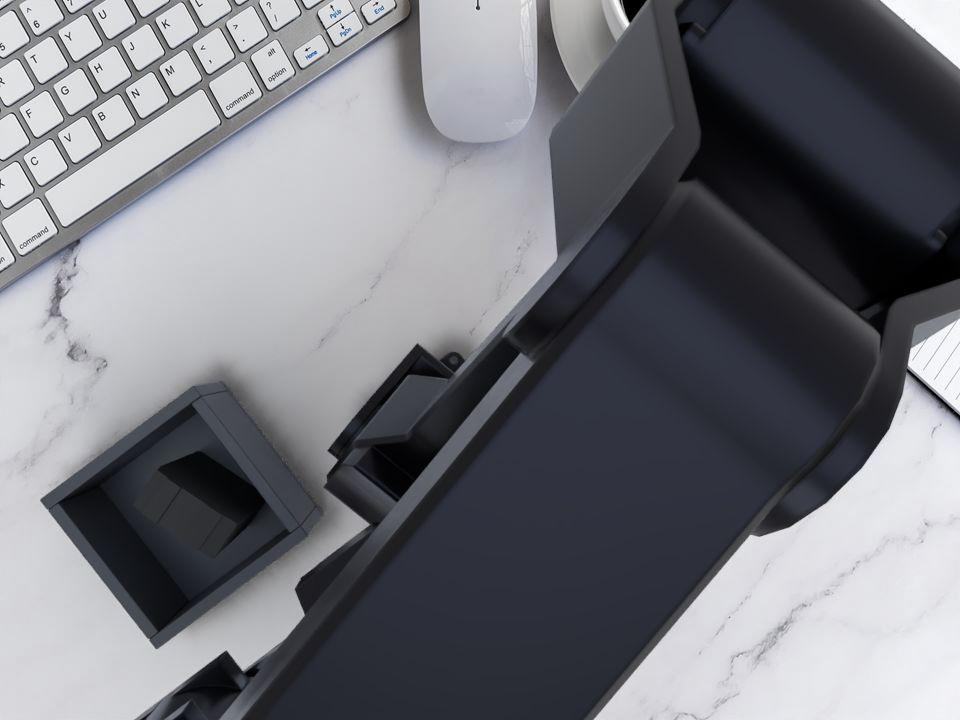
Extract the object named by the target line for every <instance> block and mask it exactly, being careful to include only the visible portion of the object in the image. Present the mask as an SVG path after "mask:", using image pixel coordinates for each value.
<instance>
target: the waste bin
mask: <svg viewBox="0 0 960 720" xmlns="http://www.w3.org/2000/svg"><path fill="white" fill-rule="evenodd" d="M196 451H201V452H203V453H204V454H206V455H207V456H209V457H210V458H212V459H213V460H215V461H216V462H218V463H219V464H221V465H222V466H224V467H225V468H227V469H228V470H230V471H231V472H233V473H234V474H236V475H237V476H239V477H240V478H242V479H243V480H245V481H246V482H248V483H249V484H251V485H252V486H254V487H255V488H256V489H257V491H258V492H259V493H260V494H261V496H262V497H263V498H264V500H265V502H264V503H263V505H262V506H261V508H260V509H259V511H258V512H257V513H256V515H255V516H254V518H253V519H252V521H251V522H250V524H249V525H248V526H247V528H246V529H245V530H244V531H243V532H242V533H240V534H239V535H238V536H237V537H236V538H235V539H234V540H233V541H232V542H231V543H230V544H229V545H228V546H226V547H225V548H224V549H223V550H222V551H221V552H220V553H219V554H218V555H217V556H216V557H215V558H214V559H212V558H210V557H209V556H207V555H206V554H204V553H202V552H201V551H197V550H196V549H194V548H193V547H191V546H190V545H188V544H186V543H185V542H183V540H182V539H180V538H179V537H177V536H176V535H174V534H173V533H171V532H170V531H168V530H167V529H165V528H164V527H162V526H161V525H159V524H157V523H155V522H153V521H152V520H151V519H149V518H148V517H146V516H145V515H143V514H142V512H141V511H140V510H138V509H137V508H136V507H134V506H133V503H134V502H135V501H136V499H137V498H138V496H139V495H140V493H141V492H142V490H143V489H144V488H145V486H146V485H147V483H148V482H149V480H150V479H151V478H152V476H153V475H154V473H155V472H156V470H157V469H158V468H159V467H160V466H162V465H165V464H167V463H170V462H172V461H175V460H177V459H179V458H182V457H184V456H187V455H189V454H192V453H194V452H196ZM39 501H40V503H41V504H42V506H43V507H44V508H45V509H46V510H47V511H48V513H49V514H50V516H51V517H52V518H53V520H54V521H55V522H56V524H58V526H59V527H60V529H62V531H63V532H64V533H65V535H66V536H67V537H68V539H69V540H70V542H72V544H73V545H74V546H75V548H76V549H77V550H78V551H79V553H80V554H81V555H82V557H83V558H84V559H85V560H86V562H87V563H88V564H89V566H90V567H91V568H92V569H93V571H94V572H95V574H96V575H98V577H99V578H100V580H101V582H103V583H104V585H105V586H106V587H107V589H108V590H109V591H110V592H111V594H112V595H113V596H114V598H115V599H116V600H117V601H118V603H119V604H120V605H121V607H122V608H123V609H124V610H125V612H126V614H128V616H129V617H130V618H131V620H132V621H133V622H134V624H136V626H137V627H138V628H139V630H140V631H141V632H142V634H143V635H144V636H145V637H146V638H147V640H148V641H149V642H150V644H151V645H152V646H153V647H154V649H155V650H159V649H160V648H161V647H163V646H164V645H165V644H167V643H169V641H171V640H172V639H173V638H174V637H176V636H177V635H178V634H180V633H182V632H183V631H184V630H186V628H188V627H189V626H191V625H192V624H193V623H194V622H196V621H198V620H199V619H200V618H201V617H203V616H204V615H205V614H207V613H208V612H209V611H211V610H212V609H213V608H215V607H216V606H218V605H219V604H220V603H221V602H222V601H224V600H225V599H227V598H229V596H231V595H233V593H235V592H236V591H237V590H239V589H240V588H241V587H242V586H244V585H246V584H247V583H248V582H250V581H251V580H252V579H254V578H255V577H256V576H258V574H260V573H261V572H263V571H264V570H265V569H266V568H267V569H268V567H269V566H271V565H272V564H273V563H275V562H276V561H277V560H279V559H280V558H281V557H282V556H284V555H285V554H287V553H288V552H290V551H291V550H292V549H294V548H295V547H296V546H298V545H299V544H300V543H301V542H303V541H304V540H305V539H306V538H308V537H309V535H311V533H312V532H313V530H314V528H315V527H316V526H317V524H319V521H320V520H321V518H323V516H324V514H325V513H324V512H323V510H322V509H321V507H320V506H319V504H317V502H316V501H315V499H314V498H313V497H312V496H311V494H310V493H309V492H308V491H307V489H306V488H305V487H304V485H303V484H302V483H301V481H300V480H299V479H298V477H297V476H296V475H295V473H294V472H293V471H292V469H291V468H290V467H289V465H288V464H287V463H286V461H284V459H283V458H282V457H281V455H280V454H279V453H278V452H277V450H276V448H275V447H274V446H273V444H272V443H271V442H270V441H269V439H268V437H266V436H265V434H264V433H263V431H262V430H261V429H260V428H259V426H258V425H257V424H256V422H255V421H254V420H253V418H252V417H251V416H250V414H249V412H247V411H246V409H245V408H244V406H243V405H242V404H241V403H240V401H239V400H238V399H237V397H236V396H235V395H234V394H233V392H232V391H231V390H230V388H229V387H228V386H227V384H226V383H225V382H224V381H223V380H220V381H215V382H209V383H203V384H197V385H192V386H191V387H189V388H188V389H186V390H185V391H184V392H183V393H181V394H179V396H177V397H176V398H174V399H173V400H172V401H170V402H169V403H168V404H167V405H165V406H163V408H161V409H159V410H158V411H157V412H156V413H153V415H151V416H150V417H149V418H148V419H146V420H145V421H143V422H142V423H141V424H139V425H138V426H137V427H135V428H134V429H133V430H131V431H130V432H129V433H127V434H126V435H125V436H123V437H122V438H120V439H119V440H118V441H116V443H113V445H111V446H110V447H109V448H107V449H106V450H104V451H103V452H101V453H100V454H99V455H98V456H97V457H95V458H94V459H92V460H91V461H90V462H89V463H87V464H86V465H84V466H83V467H81V468H80V469H78V470H77V471H76V472H75V473H73V474H72V475H71V476H70V477H68V478H67V479H66V480H64V481H63V482H61V483H60V484H58V485H57V486H56V487H54V488H53V489H52V490H51V491H49V492H48V493H46V494H44V495H43V496H42V497H41V498H40V499H39Z"/></svg>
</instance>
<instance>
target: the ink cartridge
mask: <svg viewBox="0 0 960 720" xmlns="http://www.w3.org/2000/svg"><path fill="white" fill-rule="evenodd" d="M264 502H265V500H264V498H263V497H262V496H261V494H260V493H259V492H258V491H257V489H256V488H255V487H254V486H252V485H251V484H249V483H248V482H246V481H245V480H243V479H242V478H240V477H239V476H237V475H236V474H234V473H233V472H231V471H230V470H228V469H227V468H225V467H224V466H222V465H221V464H219V463H218V462H216V461H215V460H213V459H212V458H210V457H209V456H207V455H206V454H204V453H203V452H201V451H196V452H194V453H192V454H189V455H187V456H184V457H182V458H179V459H177V460H175V461H172V462H170V463H167V464H165V465H162V466H160V467H159V468H158V469H157V470H156V472H155V473H154V475H153V476H152V478H151V479H150V480H149V482H148V483H147V485H146V486H145V488H144V489H143V490H142V492H141V493H140V495H139V496H138V498H137V499H136V501H135V502H134V503H133V506H134V507H136V508H137V509H138V510H140V511H141V512H142V514H143V515H145V516H146V517H148V518H149V519H151V520H152V521H153V522H155V523H157V524H159V525H161V526H162V527H164V528H165V529H167V530H168V531H170V532H171V533H173V534H174V535H176V536H177V537H179V538H180V539H182V540H183V542H185V543H186V544H188V545H190V546H191V547H193V548H194V549H196V550H197V551H201V552H202V553H204V554H206V555H207V556H209V557H210V558H212V559H214V558H215V557H216V556H217V555H218V554H219V553H220V552H221V551H222V550H223V549H224V548H225V547H226V546H228V545H229V544H230V543H231V542H232V541H233V540H234V539H235V538H236V537H237V536H238V535H239V534H240V533H242V532H243V531H244V530H245V529H246V528H247V526H248V525H249V524H250V522H251V521H252V519H253V518H254V516H255V515H256V513H257V512H258V511H259V509H260V508H261V506H262V505H263V503H264Z"/></svg>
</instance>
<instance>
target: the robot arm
mask: <svg viewBox="0 0 960 720" xmlns="http://www.w3.org/2000/svg"><path fill="white" fill-rule="evenodd" d="M550 132H551V133H550V136H549V139H548V142H549V143H548V145H549V158H550V173H551V187H552V201H553V202H552V203H553V214H554V229H555V242H556V245H555V246H556V259H555V261H554V262H553V263H552V264H551V266H550V267H549V268H548V269H546V271H545V272H544V273H543V274H542V276H540V278H539V279H538V280H537V281H536V282H535V283H534V284H533V286H531V287H530V289H529V290H528V291H527V292H526V293H525V294H524V295H523V296H522V298H521V299H520V300H518V302H517V303H516V304H515V306H513V307H512V308H511V310H510V311H509V312H508V313H507V315H506V316H504V318H503V319H502V320H501V321H500V322H499V323H498V325H497V326H496V327H494V329H493V330H492V331H491V332H490V333H489V334H488V336H487V337H486V338H484V340H483V341H482V342H481V343H480V345H478V347H477V348H475V350H474V351H473V352H472V353H471V354H470V355H469V357H467V359H464V357H463V356H462V355H461V354H460V353H459V352H457V351H450V352H448V353H447V354H445V355H444V356H443V357H442V358H440V359H438V358H437V357H436V356H434V355H433V354H432V353H431V352H430V351H428V350H427V349H426V348H425V347H423V346H422V345H421V344H420V343H419V342H416V343H415V345H414V346H413V347H412V348H411V349H410V351H409V352H408V353H407V354H406V355H405V357H404V358H403V359H402V360H401V361H400V362H399V363H398V365H397V366H396V367H395V368H394V370H393V371H391V373H390V374H389V375H388V376H387V377H386V379H384V381H383V382H382V383H381V385H379V387H378V388H377V390H376V391H375V392H374V393H373V394H372V395H371V396H370V397H369V399H368V400H367V401H366V402H365V403H364V405H362V407H361V408H360V409H359V410H358V411H357V413H356V414H355V415H354V416H353V418H351V420H350V421H349V422H348V424H347V425H346V426H345V427H344V429H343V430H342V431H341V432H340V434H339V435H338V436H337V437H336V438H335V440H334V441H333V442H332V444H331V445H329V447H328V449H327V450H326V451H327V453H329V455H332V457H334V458H335V459H336V460H337V461H336V463H335V464H334V465H333V466H332V467H331V469H330V470H329V471H328V473H327V474H326V483H325V484H324V485H323V487H322V488H323V489H324V490H325V491H327V492H328V493H330V494H331V495H332V496H333V497H335V499H337V500H338V501H339V502H341V503H342V504H343V505H345V506H346V508H348V509H350V510H351V511H352V512H353V513H354V514H356V515H357V516H358V517H359V518H361V519H362V520H363V521H365V522H366V524H368V525H367V526H366V527H365V528H363V529H362V530H361V531H359V532H358V533H357V534H355V535H354V536H353V537H352V538H349V540H348V541H346V542H345V543H344V544H342V545H341V546H339V548H337V549H336V550H334V551H333V552H332V553H330V554H329V555H328V556H326V557H325V558H324V559H323V560H321V561H320V562H318V563H317V564H316V565H315V566H314V567H313V568H312V569H310V570H309V571H307V572H306V573H305V574H303V576H301V577H300V578H299V581H298V582H297V584H296V586H295V587H294V592H295V594H296V597H297V599H298V601H299V604H300V606H301V609H302V611H303V617H302V618H301V619H300V620H299V621H298V623H297V624H296V625H295V626H294V628H293V629H292V630H291V632H290V633H289V634H288V635H287V636H286V637H285V639H283V640H282V641H280V642H279V643H278V644H276V645H275V646H274V647H273V648H271V649H270V650H269V651H267V652H266V653H265V654H264V655H262V656H260V657H259V658H258V659H257V660H256V661H254V662H253V663H252V664H250V665H248V666H247V667H246V668H245V669H242V668H241V667H240V666H239V664H238V663H237V662H236V660H235V659H234V657H232V655H231V653H230V652H229V651H228V650H227V649H226V650H224V651H223V652H222V653H220V654H219V655H218V656H217V657H215V658H214V659H212V660H211V661H210V662H209V663H207V664H205V666H203V667H202V668H200V669H199V670H198V671H196V672H195V673H194V674H193V675H191V676H190V677H188V678H187V679H186V680H184V681H183V682H181V684H179V685H178V686H176V687H175V688H174V689H172V690H171V691H169V693H168V694H166V695H165V696H163V697H162V698H161V699H159V700H158V701H157V702H155V703H154V704H153V705H151V706H150V707H149V708H147V709H146V710H145V711H143V712H142V713H141V714H139V715H138V716H137V717H136V718H134V719H133V720H595V719H596V718H597V716H598V715H599V714H600V713H601V712H602V711H603V710H604V708H605V707H606V706H607V705H608V703H609V702H610V701H611V700H612V699H613V697H614V696H616V694H617V693H618V692H619V691H620V689H621V688H622V687H623V686H624V685H625V684H626V682H627V681H628V680H629V679H630V677H632V675H633V674H634V673H635V671H636V670H637V669H638V668H639V666H641V665H642V664H643V662H644V661H645V660H646V659H647V657H648V656H649V655H651V653H652V652H653V650H655V648H656V647H657V646H658V645H659V643H661V641H662V640H663V638H665V636H666V635H667V634H668V633H669V632H670V631H671V629H673V627H674V626H675V624H676V623H677V622H678V621H679V620H680V619H681V618H682V616H683V615H684V614H685V613H686V612H687V611H688V609H689V608H690V607H691V606H692V604H693V603H694V602H695V601H696V600H697V599H698V597H699V596H700V595H701V594H702V592H703V591H705V589H706V588H707V587H708V586H709V584H710V583H712V581H713V580H714V578H715V577H716V576H717V575H718V574H719V573H720V571H721V570H722V569H723V568H724V567H725V565H726V564H727V563H728V562H729V561H730V559H732V557H733V556H734V555H735V554H736V553H737V551H738V550H739V549H740V548H741V546H742V545H743V544H744V543H745V542H746V541H747V540H748V538H749V537H750V536H752V537H753V536H754V537H758V538H761V537H764V536H767V535H770V534H773V533H777V532H780V531H782V530H786V529H790V528H791V527H792V526H795V524H797V523H799V522H801V521H802V520H803V519H805V518H806V517H808V516H809V515H811V514H812V513H814V512H815V511H817V510H818V509H821V508H822V507H823V506H825V505H827V504H828V502H829V501H830V500H831V499H832V498H833V497H835V495H836V494H837V493H838V492H839V491H840V490H841V489H842V488H843V487H845V486H846V484H847V483H849V481H851V479H853V478H854V477H855V476H856V475H857V474H858V473H859V472H860V471H861V470H862V469H863V467H864V466H865V464H867V462H868V460H869V459H870V458H871V456H872V455H873V454H874V452H875V450H876V449H877V447H878V446H879V445H880V443H881V442H882V440H883V439H884V437H885V436H886V435H887V433H888V432H889V430H890V429H891V427H892V424H893V421H894V418H895V415H896V413H897V410H898V407H899V405H900V402H901V399H902V398H903V395H904V389H905V385H906V384H905V383H906V378H907V372H908V366H909V362H910V354H911V350H912V349H914V348H915V347H916V346H918V345H919V344H921V343H923V342H925V341H926V340H928V339H929V338H930V337H933V336H934V335H935V334H937V333H939V332H940V331H942V330H943V329H945V328H947V327H948V326H950V325H952V324H953V323H955V322H956V321H958V320H960V68H959V67H958V66H957V65H956V64H955V63H954V62H953V61H951V60H950V59H949V58H948V57H946V56H945V55H944V53H942V52H941V51H940V50H938V49H937V48H936V47H935V46H934V45H933V44H931V42H929V41H928V40H927V39H926V38H925V37H923V35H921V34H920V33H919V32H918V31H916V29H914V27H912V26H911V25H910V24H908V23H907V22H906V20H904V19H903V18H902V17H900V16H899V15H898V14H897V13H896V12H895V11H893V10H892V9H891V8H890V7H889V6H888V5H887V4H885V3H884V2H883V1H882V0H646V1H645V2H644V4H643V5H642V6H641V8H640V9H639V10H638V11H637V13H636V14H635V16H634V17H633V19H632V20H631V22H630V23H629V24H628V25H627V27H626V28H625V29H624V31H623V32H622V33H621V35H620V37H619V38H618V39H617V40H616V42H615V43H614V45H612V48H611V49H610V50H609V51H608V53H607V54H606V56H605V57H604V58H603V60H602V61H601V62H600V63H599V65H598V66H597V68H596V69H595V70H594V72H593V73H592V75H591V76H590V77H589V79H588V80H587V81H586V83H584V86H583V87H582V88H581V89H580V91H579V92H578V94H577V95H576V96H575V98H573V100H572V102H571V103H570V105H568V107H567V108H566V110H565V111H564V113H563V114H562V115H561V117H560V118H559V120H557V122H556V123H555V125H554V126H553V128H552V129H551V131H550ZM451 357H456V358H457V362H455V363H453V362H451Z"/></svg>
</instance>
